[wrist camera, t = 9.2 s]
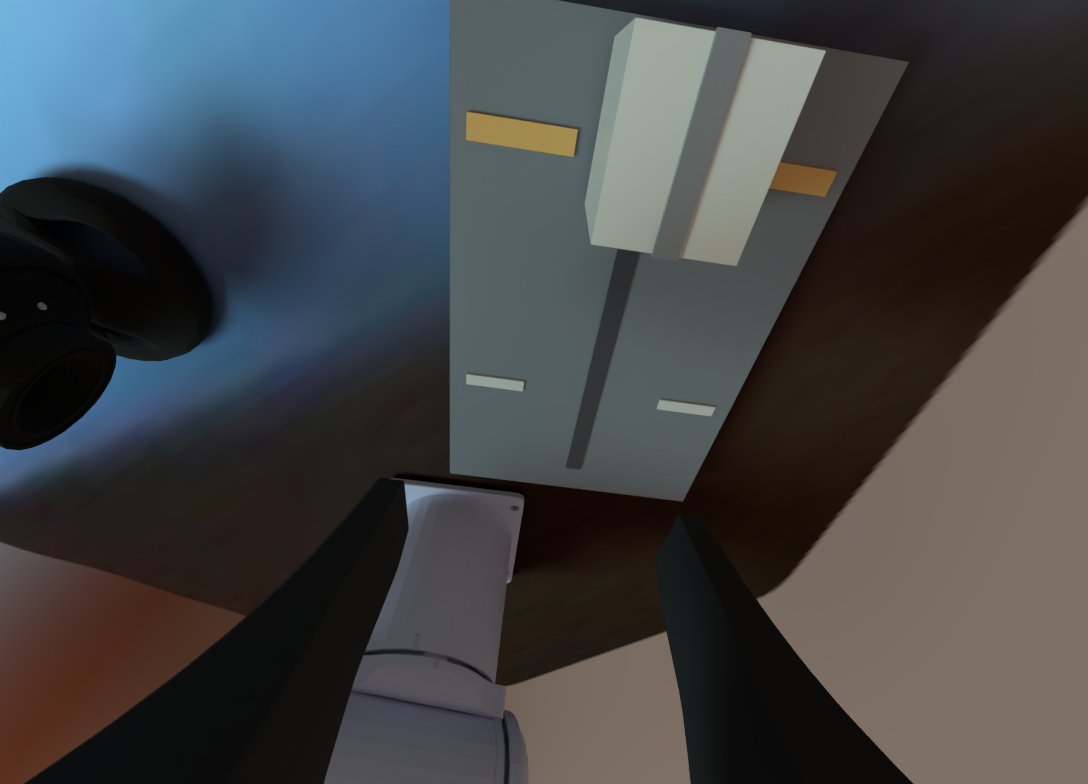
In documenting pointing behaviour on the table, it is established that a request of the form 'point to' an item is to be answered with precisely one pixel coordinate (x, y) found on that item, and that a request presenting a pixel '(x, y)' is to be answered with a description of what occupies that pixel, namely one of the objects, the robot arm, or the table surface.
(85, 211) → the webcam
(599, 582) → the table surface
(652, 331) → the console
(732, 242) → the fader
